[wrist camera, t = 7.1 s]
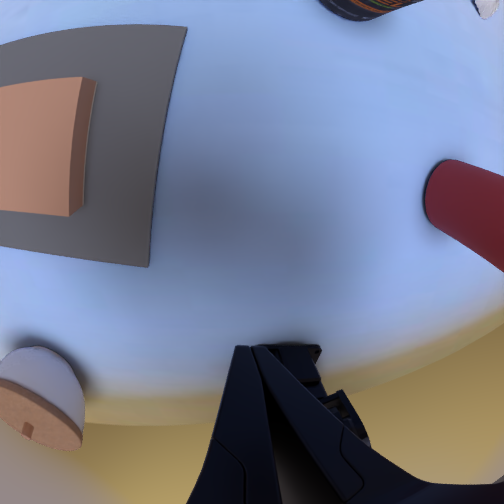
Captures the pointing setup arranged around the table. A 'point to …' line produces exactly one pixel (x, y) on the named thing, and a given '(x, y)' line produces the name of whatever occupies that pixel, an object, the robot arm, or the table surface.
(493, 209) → the beer can
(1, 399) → the lidded jar
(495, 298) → the table surface
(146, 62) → the mat
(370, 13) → the pill bottle
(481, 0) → the pincushion
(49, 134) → the tile
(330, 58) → the table surface
